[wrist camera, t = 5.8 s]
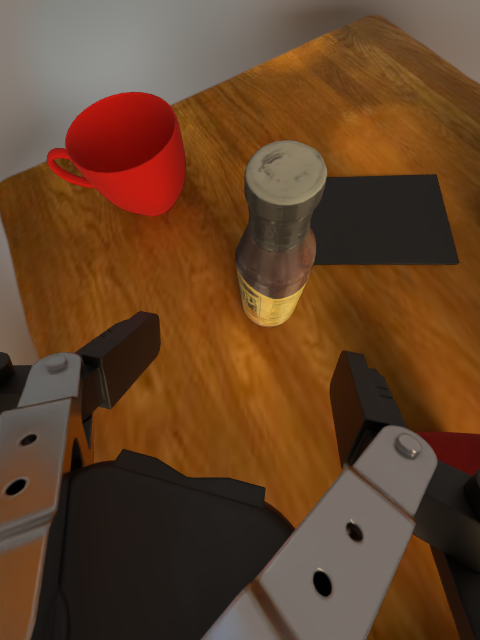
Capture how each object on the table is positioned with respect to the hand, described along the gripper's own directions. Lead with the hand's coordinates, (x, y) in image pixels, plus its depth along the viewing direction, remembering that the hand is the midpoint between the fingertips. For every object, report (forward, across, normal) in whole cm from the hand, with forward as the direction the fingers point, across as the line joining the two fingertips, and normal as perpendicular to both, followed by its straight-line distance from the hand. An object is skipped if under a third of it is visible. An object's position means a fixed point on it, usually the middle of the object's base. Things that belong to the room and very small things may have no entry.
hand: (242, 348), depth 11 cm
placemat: (+30, -11, -4) cm, 32 cm away
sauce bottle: (+20, 0, +7) cm, 21 cm away
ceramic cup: (+29, +22, -3) cm, 36 cm away
